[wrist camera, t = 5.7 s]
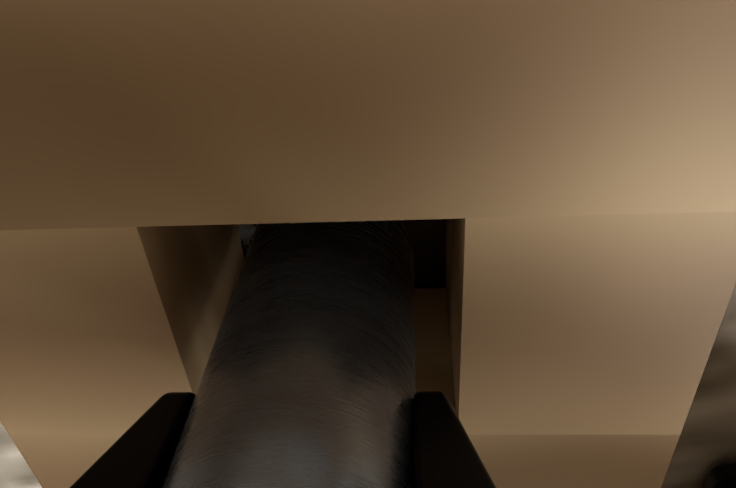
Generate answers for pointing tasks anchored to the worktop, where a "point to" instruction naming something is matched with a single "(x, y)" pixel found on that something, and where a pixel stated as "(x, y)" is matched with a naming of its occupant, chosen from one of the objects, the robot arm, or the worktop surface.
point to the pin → (310, 365)
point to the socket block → (374, 206)
